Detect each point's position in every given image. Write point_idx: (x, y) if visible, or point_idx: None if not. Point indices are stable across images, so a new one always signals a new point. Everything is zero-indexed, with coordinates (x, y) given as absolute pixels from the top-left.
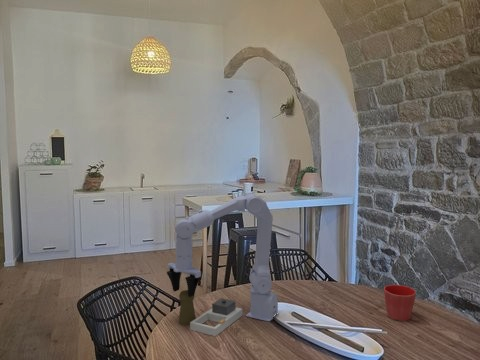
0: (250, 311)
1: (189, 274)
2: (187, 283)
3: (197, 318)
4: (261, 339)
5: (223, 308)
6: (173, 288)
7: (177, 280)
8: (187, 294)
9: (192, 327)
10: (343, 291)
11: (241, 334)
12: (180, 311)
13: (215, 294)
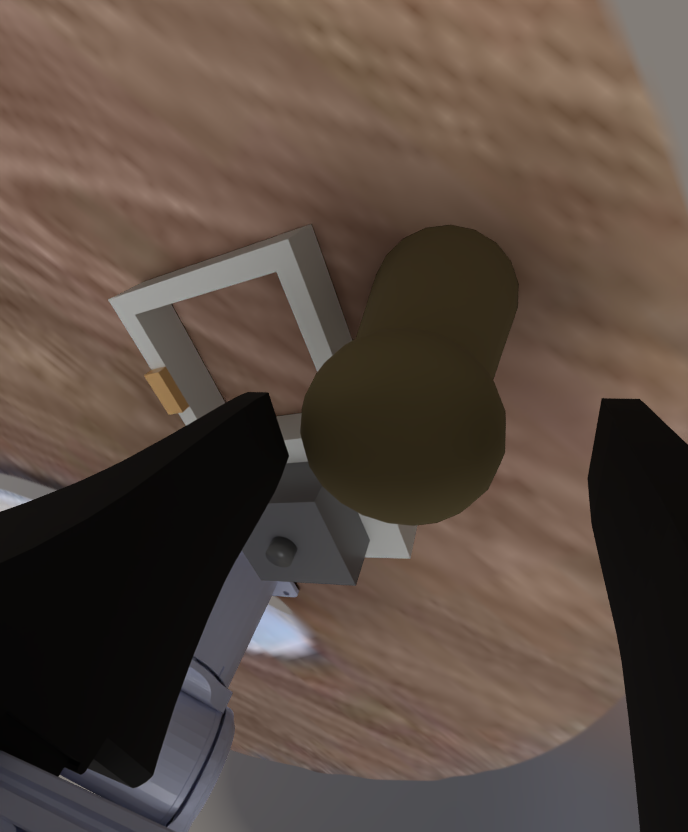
0: None
1: (37, 781)
2: (83, 516)
3: (315, 331)
4: (44, 401)
5: None
6: (637, 422)
7: (635, 626)
8: (315, 419)
9: (282, 235)
10: (240, 727)
11: (113, 385)
12: (452, 278)
13: (607, 657)
